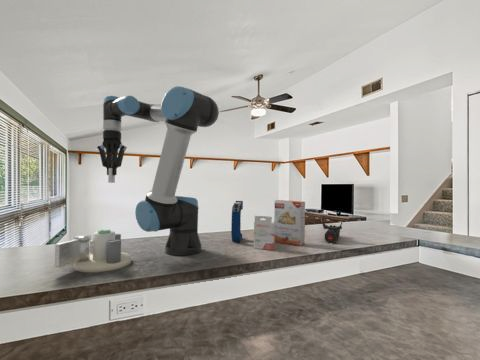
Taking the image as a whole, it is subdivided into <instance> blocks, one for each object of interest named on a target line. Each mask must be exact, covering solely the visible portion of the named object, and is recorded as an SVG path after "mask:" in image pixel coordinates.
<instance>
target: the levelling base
mask: <svg viewBox="0 0 480 360" xmlns="http://www.w3.org/2000/svg"><path fill="white" fill-rule="evenodd" d="M121 237H122V234H120V233H116V231H114V230H111V229H99V230H97V231H95V232H93V233H92V253H90V260H88V261H83V262H73V269H74V271H77V272H81V273H102V272H111V271H115V270H118V269H122V268H125V267H127V266H129V265H130V264H131V262H132V254H130V253H128V252H123V251H122V240H121V239H122V238H121Z"/></svg>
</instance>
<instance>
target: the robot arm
mask: <svg viewBox="0 0 480 360" xmlns="http://www.w3.org/2000/svg"><path fill="white" fill-rule="evenodd" d="M102 106H103V111H102V112H103V115H102V116H103V117H102V119H103V123H102V130H103V131H102V139H103V141H102V144H101V145H98V146H97V147H96V148H97V149H98V153H99V155H100V156H99V157H100V160H101V165H102V167H104V168H106V175H107V176H108V177H107V178H108V181H107V182H108V183H110V184H112V183H116V182H115V181H116V176H117V169H118V168H121V166H122V163H123V158H124V156H125V151H126V150H127V146H126V145H124V144H123V143H122V133H121V131H122V117H125V116H127V117H132V118H137V119H140V120H141V119H142V120H145V121H148V122H154V123H159V122H164V124H165V125H166V128H167V130H166V133H165V138H164V141H163V145H162V149H161V153H160V157H159V162H158V165H157V169H156V173H155V176H154V180H153V185H152V188H151V190H149V191H148V192H146V195H145V199H144V200H140V201H139V202H138V203H137V204H136V207H135V220H136V222H137V224H138V227H139V228H141V230H142V231H145V232H146V233H147V232H148V233H149V232H151V233H152V232H155V233H156V232H159V231H164V230H169V235H168V238H167V240H166V243H165V247H164V253H166V254H168V255H171V256H173V255H174V256H190V255H197V254H199V253H201V252H202V243H201V239H200V236H199V232H198V230H199V224H198V223H199V204H198V203H199V201H198V199H197V198H195V197H190V196H180V195H176V192H177V188H178V184H179V181H180V178H181V174H182V173H181V172H182V170H183V167H184V162H185V159H186V155H187V151H188V148H189V144H190V140H191V137H192V135H193V134H195V133H197V131H198V127H201V128H207V127H208V128H209V127H211V126H212V125H214V124H215V123H216V122H217V121H218V118H219V112H220V111H219V107H218V104H217V103H216V101H215V100H214V99H212V98H211V97H210V96H208V95H205V94H202V93H201V92H198V91H195V90H193V89H190V88H189V87H184V86H178V85H177V86H174V87H171V89H169V90H167V92H165V94H164V96H163V98H162V101H161V104H159V103H158V104H151V103H146V102H142V101H140V100H138V99H137V98H136V97H135V96H133V95H125V96H121V97H119V96H115V95H107V96H104V98H103V104H102Z"/></svg>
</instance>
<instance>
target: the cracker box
mask: <svg viewBox="0 0 480 360" xmlns="http://www.w3.org/2000/svg"><path fill="white" fill-rule="evenodd" d="M273 212H274V213H273V214H274V216H273V217H274V218H273V219H274V220H273V222H274V243H278V242H279V243H280V244H285V245H292V246H297V245H298V247H302V246H303V245H305V236H306V235H305V233H306V232H305V227H306V223H305V221H306V202H305V201H300V200H299V201H298V200H297V201H296V200H283V199H278V200H277V199H276V200H274V211H273Z"/></svg>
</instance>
